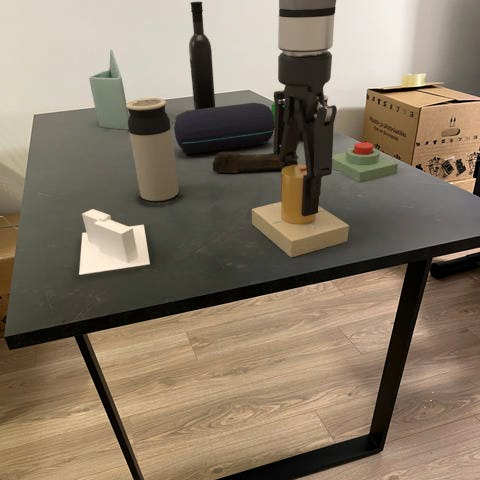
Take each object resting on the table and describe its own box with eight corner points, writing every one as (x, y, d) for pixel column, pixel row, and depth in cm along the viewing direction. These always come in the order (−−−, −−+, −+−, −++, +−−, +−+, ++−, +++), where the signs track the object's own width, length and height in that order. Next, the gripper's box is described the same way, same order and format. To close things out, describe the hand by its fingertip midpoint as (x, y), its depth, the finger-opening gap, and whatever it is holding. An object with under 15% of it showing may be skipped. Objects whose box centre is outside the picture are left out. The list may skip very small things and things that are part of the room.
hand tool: (295, 166, 108) (296, 145, 106) (297, 172, 105) (297, 151, 102) (214, 169, 109) (212, 149, 106) (213, 175, 106) (211, 154, 103)
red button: (376, 154, 102) (377, 146, 101) (361, 157, 101) (362, 149, 100) (364, 149, 105) (365, 141, 104) (349, 152, 104) (350, 144, 103)
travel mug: (186, 193, 98) (176, 101, 87) (156, 205, 94) (141, 110, 83) (163, 184, 103) (150, 95, 92) (133, 195, 98) (115, 103, 87)
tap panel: (347, 241, 79) (349, 224, 77) (291, 257, 76) (291, 240, 74) (303, 210, 89) (304, 195, 87) (251, 224, 86) (251, 207, 84)
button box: (396, 173, 103) (399, 155, 100) (359, 182, 99) (361, 163, 97) (362, 157, 111) (364, 140, 109) (327, 165, 108) (328, 147, 106)
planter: (94, 120, 147) (79, 48, 135) (119, 116, 150) (106, 45, 137) (104, 133, 135) (87, 56, 123) (131, 129, 137) (117, 53, 125)
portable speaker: (264, 136, 127) (263, 97, 121) (277, 147, 119) (278, 105, 113) (173, 149, 122) (168, 108, 116) (181, 161, 114) (176, 118, 108)
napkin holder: (151, 263, 76) (145, 232, 72) (79, 275, 74) (69, 242, 71) (143, 224, 88) (138, 195, 84) (81, 233, 86) (73, 203, 82)
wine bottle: (198, 126, 138) (187, 3, 119) (195, 121, 142) (183, 2, 124) (217, 124, 138) (209, 1, 120) (213, 119, 143) (205, 0, 125)
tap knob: (292, 227, 78) (293, 178, 72) (274, 213, 82) (274, 166, 77) (322, 219, 79) (326, 170, 74) (304, 206, 84) (306, 159, 79)
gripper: (370, 56, 60) (351, 223, 74) (292, 41, 74) (288, 183, 88) (321, 63, 57) (311, 234, 71) (250, 46, 71) (253, 192, 85)
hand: (299, 206), depth 80 cm, fingers closed on tap knob, 6 cm apart
